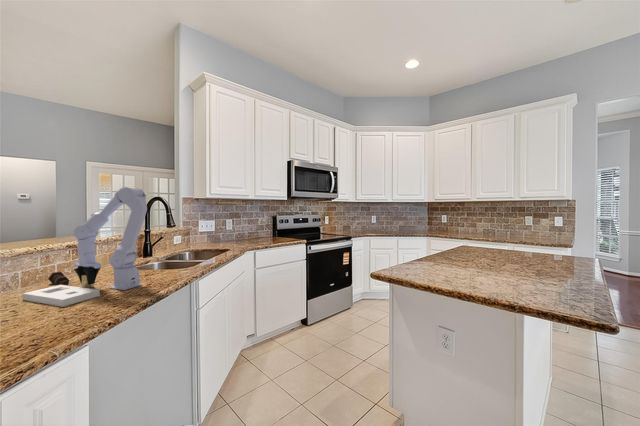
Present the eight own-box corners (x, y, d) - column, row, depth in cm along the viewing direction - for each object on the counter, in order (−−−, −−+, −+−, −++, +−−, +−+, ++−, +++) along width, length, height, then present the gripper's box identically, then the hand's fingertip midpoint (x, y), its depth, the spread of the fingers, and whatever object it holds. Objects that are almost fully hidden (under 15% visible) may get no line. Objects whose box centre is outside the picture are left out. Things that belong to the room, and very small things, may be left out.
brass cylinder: (96, 287, 120) (95, 273, 120) (85, 289, 116) (85, 275, 116) (90, 286, 121) (89, 273, 121) (79, 288, 117) (79, 275, 117)
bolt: (62, 292, 119) (54, 285, 128) (75, 284, 122) (66, 278, 131) (52, 282, 116) (45, 276, 125) (66, 274, 120) (58, 269, 129)
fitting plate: (99, 295, 108) (99, 289, 107) (62, 306, 96) (62, 299, 96) (61, 290, 115) (60, 284, 115) (22, 299, 104) (22, 292, 104)
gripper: (65, 253, 117) (66, 284, 117) (87, 255, 112) (88, 287, 112) (83, 251, 123) (84, 280, 124) (105, 252, 119) (106, 283, 119)
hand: (87, 283), depth 119 cm, fingers closed on brass cylinder, 4 cm apart
